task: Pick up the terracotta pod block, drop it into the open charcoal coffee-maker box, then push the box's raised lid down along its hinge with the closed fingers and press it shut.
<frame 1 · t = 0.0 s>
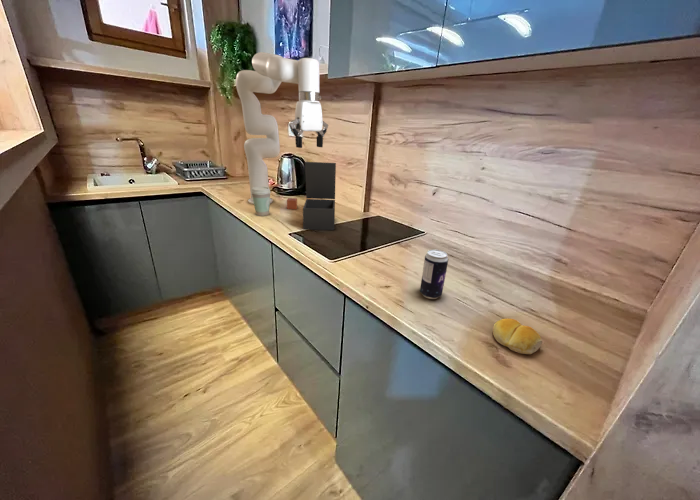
hand: (309, 147, 118), 31 cm above the table, tool pointing down, fingers open, 9 cm apart
coffee cup: (262, 214, 140), on the table
bread roll: (514, 341, 64), on the table
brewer: (319, 223, 131), on the table
lid: (320, 181, 129), point 17 cm above the table, hinge at 75.0°
beverage can: (430, 295, 80), on the table
pod: (292, 207, 152), on the table
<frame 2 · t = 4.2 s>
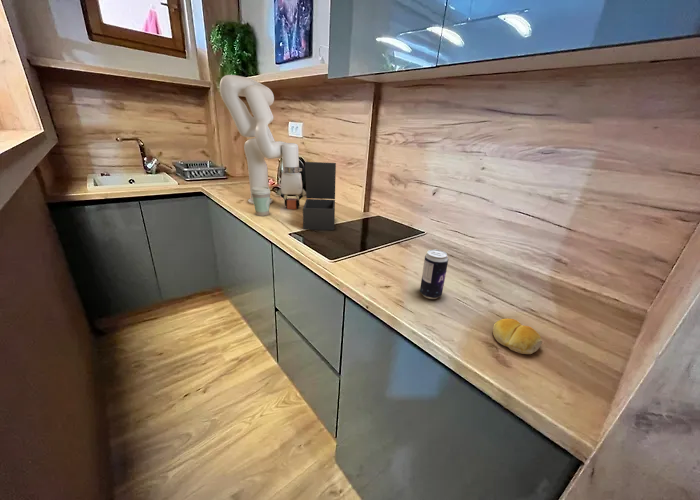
hand: (292, 207, 152), 0 cm above the table, tool pointing down, fingers closed on pod, 4 cm apart
pod: (292, 207, 152), on the table, touching gripper
everything else where it was.
when the fingers open (10 cm above the table, at t = 12.8 s): pod drops 9 cm, resting on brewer.
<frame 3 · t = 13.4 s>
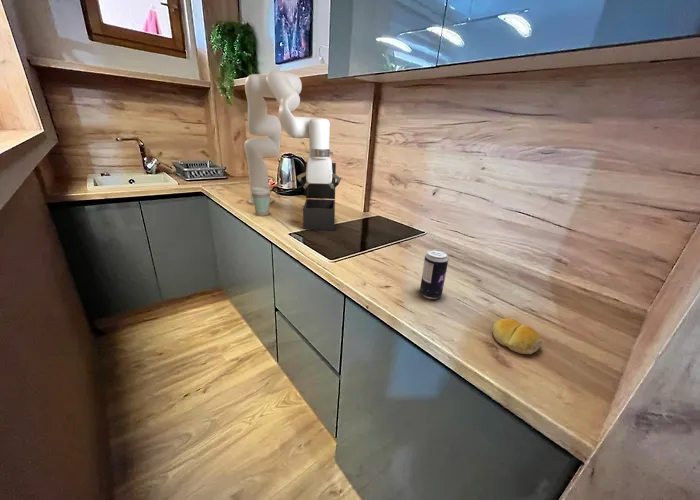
hand: (319, 197, 122), 12 cm above the table, tool pointing down, fingers open, 9 cm apart
pod: (319, 224, 127), point 1 cm above the table, touching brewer
everything else where it was.
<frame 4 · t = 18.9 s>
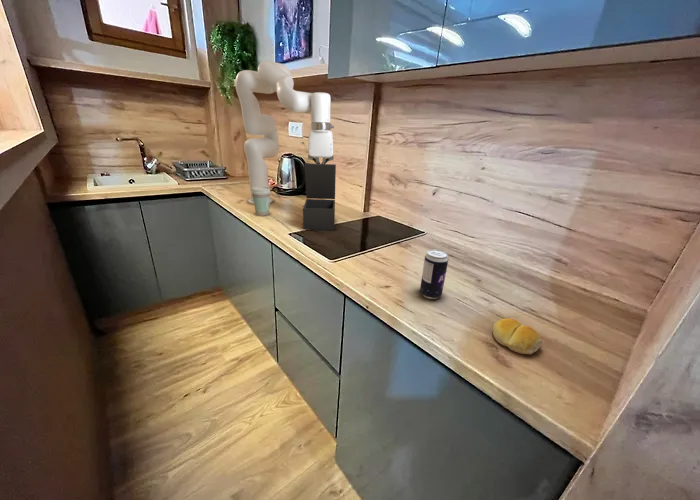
hand: (320, 174, 128), 20 cm above the table, tool pointing down, fingers closed
lid: (320, 182, 128), point 17 cm above the table, hinge at 69.7°, touching gripper
everything else where it was.
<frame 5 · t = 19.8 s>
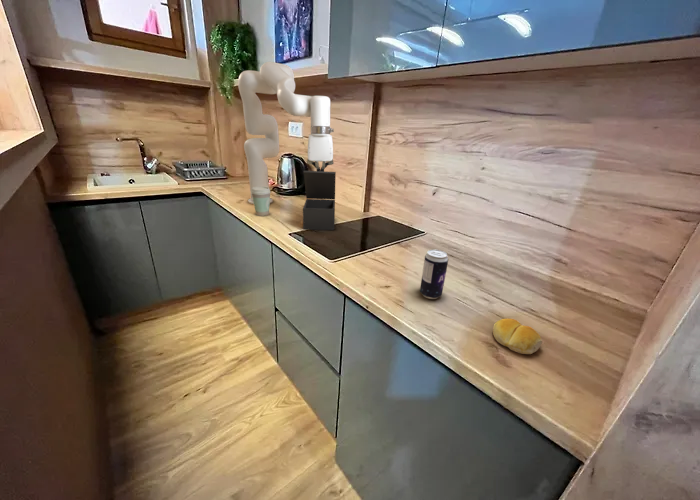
hand: (320, 178, 125), 19 cm above the table, tool pointing down, fingers closed
lid: (320, 185, 127), point 16 cm above the table, hinge at 52.3°, touching gripper
everything else where it was.
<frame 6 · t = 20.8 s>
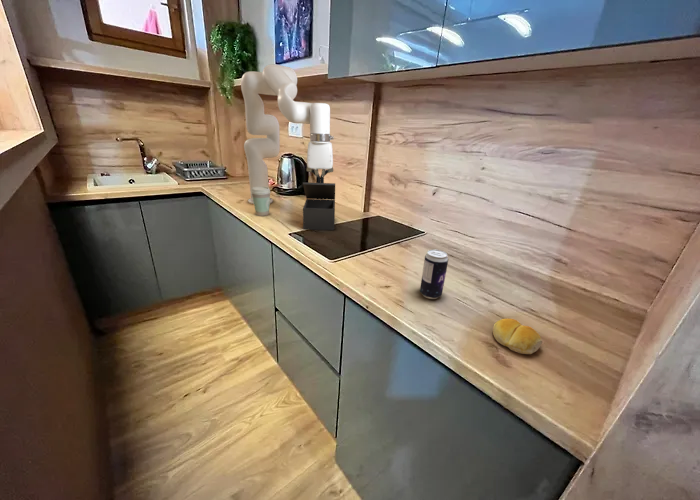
hand: (320, 186, 124), 16 cm above the table, tool pointing down, fingers closed
lid: (320, 191, 126), point 14 cm above the table, hinge at 33.4°, touching gripper
everything else where it was.
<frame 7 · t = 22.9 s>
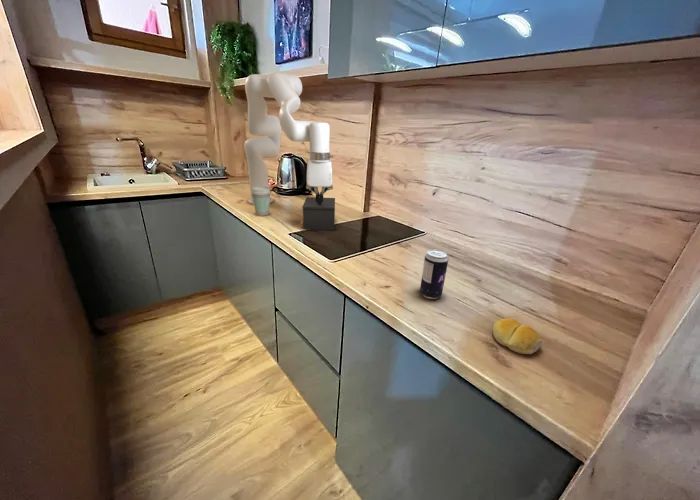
hand: (319, 203, 124), 10 cm above the table, tool pointing down, fingers closed
lid: (319, 202, 126), point 9 cm above the table, hinge at 0.4°, touching gripper
everything else where it was.
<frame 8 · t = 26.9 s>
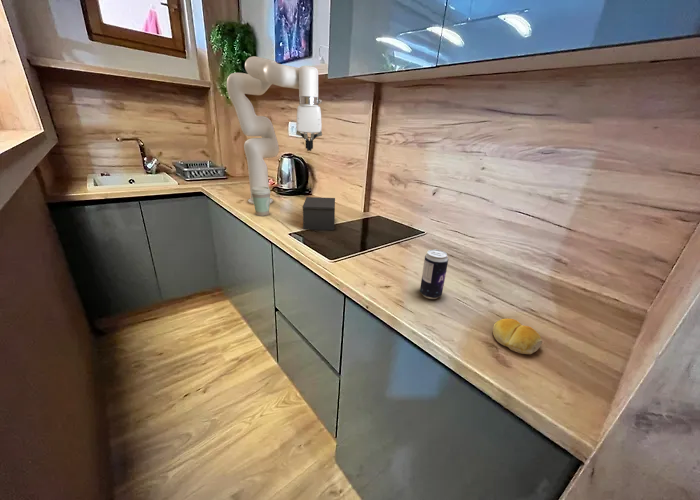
hand: (309, 150, 128), 29 cm above the table, tool pointing down, fingers closed
lid: (319, 202, 126), point 9 cm above the table, hinge at 0.3°
everything else where it was.
at the end: pod inside the target area in the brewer (4.0 cm from its centre), point 0.8 cm above the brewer's base; lid at +0° (first picture: +75°) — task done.
